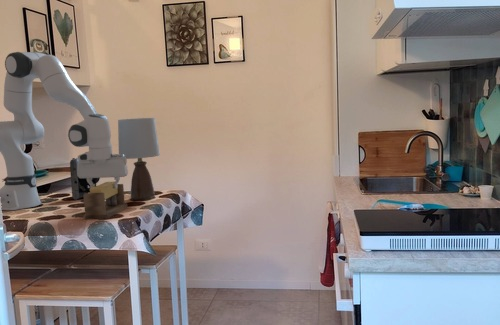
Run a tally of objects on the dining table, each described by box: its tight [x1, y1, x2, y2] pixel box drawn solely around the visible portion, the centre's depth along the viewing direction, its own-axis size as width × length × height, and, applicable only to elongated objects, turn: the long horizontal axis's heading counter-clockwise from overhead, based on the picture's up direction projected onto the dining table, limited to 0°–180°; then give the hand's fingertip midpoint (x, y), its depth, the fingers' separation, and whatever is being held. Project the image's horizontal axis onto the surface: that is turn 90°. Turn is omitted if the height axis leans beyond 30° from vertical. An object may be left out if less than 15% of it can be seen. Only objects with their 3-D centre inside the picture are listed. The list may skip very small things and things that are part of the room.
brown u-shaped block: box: [82, 183, 128, 220], centre depth 190 cm, size 10×20×10 cm, turn 174°
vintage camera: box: [69, 157, 101, 200], centre depth 225 cm, size 10×16×20 cm, turn 80°
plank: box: [90, 181, 118, 200], centre depth 189 cm, size 4×16×5 cm, turn 174°
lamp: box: [117, 117, 161, 201], centre depth 217 cm, size 19×19×37 cm
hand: (104, 188), depth 189 cm, fingers open, 8 cm apart
